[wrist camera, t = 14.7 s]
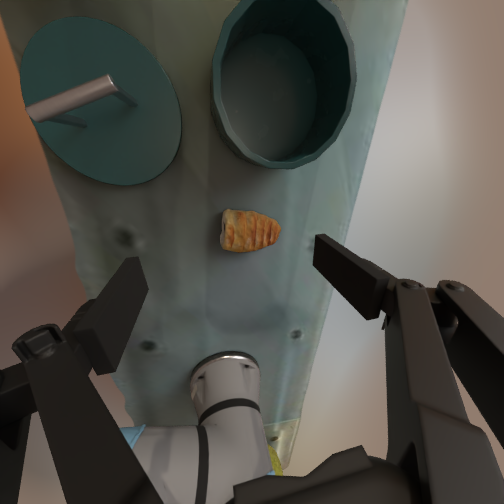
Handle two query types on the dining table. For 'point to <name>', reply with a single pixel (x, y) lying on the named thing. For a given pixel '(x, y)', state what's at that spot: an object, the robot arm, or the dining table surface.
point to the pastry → (247, 231)
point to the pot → (282, 80)
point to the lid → (100, 101)
